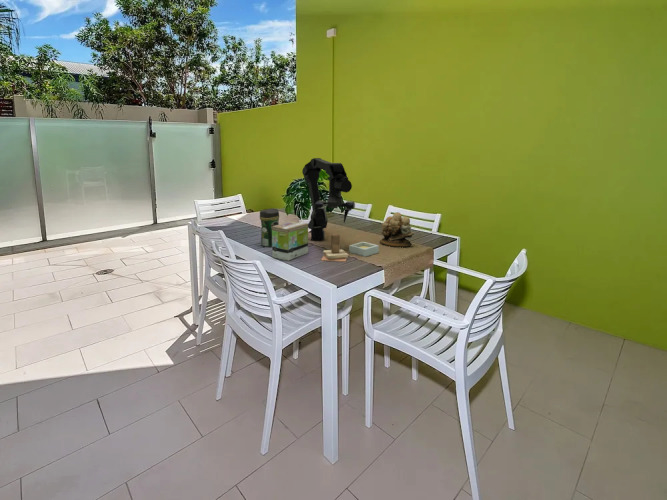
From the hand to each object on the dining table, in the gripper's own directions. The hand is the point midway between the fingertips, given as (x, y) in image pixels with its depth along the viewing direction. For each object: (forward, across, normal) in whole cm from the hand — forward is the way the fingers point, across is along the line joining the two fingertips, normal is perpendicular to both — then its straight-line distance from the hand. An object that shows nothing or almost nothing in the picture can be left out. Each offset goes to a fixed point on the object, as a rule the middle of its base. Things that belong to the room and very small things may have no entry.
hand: (335, 222), depth 184 cm
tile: (+13, +3, -16) cm, 21 cm away
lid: (+12, +3, -16) cm, 20 cm away
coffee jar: (+13, -33, -1) cm, 36 cm away
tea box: (+13, -18, -16) cm, 28 cm away
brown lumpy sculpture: (+13, +30, +12) cm, 35 cm away
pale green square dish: (+13, +15, -6) cm, 21 cm away
